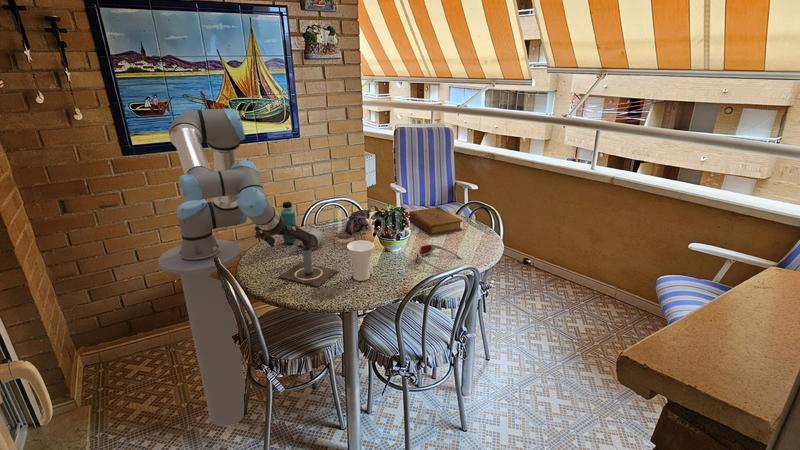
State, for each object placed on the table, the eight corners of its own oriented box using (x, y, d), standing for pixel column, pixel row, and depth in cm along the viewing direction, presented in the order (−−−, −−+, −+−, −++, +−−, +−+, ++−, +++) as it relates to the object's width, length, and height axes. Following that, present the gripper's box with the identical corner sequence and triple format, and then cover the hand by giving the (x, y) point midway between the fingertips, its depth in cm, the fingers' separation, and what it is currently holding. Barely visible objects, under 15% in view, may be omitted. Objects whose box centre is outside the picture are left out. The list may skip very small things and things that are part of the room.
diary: (408, 221, 220) (408, 211, 218) (438, 216, 228) (438, 206, 226) (430, 236, 201) (430, 225, 199) (461, 230, 209) (462, 219, 207)
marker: (302, 274, 161) (300, 246, 157) (307, 270, 164) (305, 243, 160) (309, 275, 160) (307, 247, 155) (314, 272, 163) (312, 244, 158)
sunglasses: (425, 249, 185) (428, 239, 183) (460, 262, 179) (462, 253, 177) (408, 263, 171) (410, 253, 169) (445, 279, 165) (447, 268, 163)
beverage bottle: (289, 239, 196) (285, 199, 189) (300, 241, 193) (297, 201, 186) (280, 244, 191) (276, 203, 184) (291, 246, 188) (287, 205, 181)
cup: (360, 268, 167) (359, 238, 163) (380, 275, 162) (379, 244, 157) (342, 278, 159) (341, 246, 155) (363, 286, 154) (362, 253, 149)
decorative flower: (343, 207, 211) (370, 201, 208) (351, 225, 217) (378, 219, 214) (338, 224, 199) (366, 217, 196) (347, 242, 206) (375, 236, 202)
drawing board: (279, 277, 160) (278, 276, 159) (301, 263, 172) (301, 262, 171) (317, 287, 153) (317, 285, 152) (337, 271, 165) (337, 270, 164)
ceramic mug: (325, 243, 192) (323, 227, 189) (318, 250, 184) (317, 234, 182) (304, 241, 194) (302, 226, 191) (296, 248, 186) (295, 232, 184)
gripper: (228, 228, 129) (256, 251, 149) (304, 233, 126) (322, 256, 146) (235, 207, 132) (261, 232, 152) (308, 212, 129) (326, 237, 149)
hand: (291, 244), depth 149 cm, fingers open, 13 cm apart
